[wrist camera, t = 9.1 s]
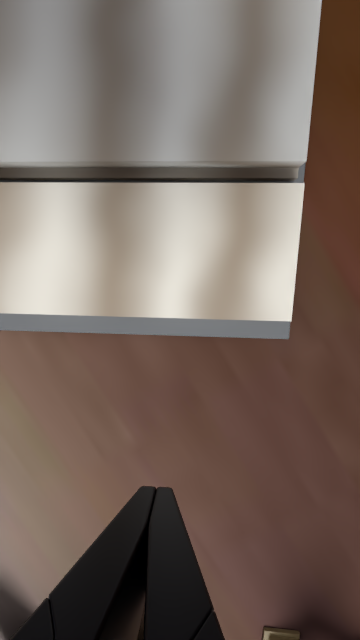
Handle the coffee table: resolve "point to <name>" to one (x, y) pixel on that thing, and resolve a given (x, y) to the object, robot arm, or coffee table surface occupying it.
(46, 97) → the plank
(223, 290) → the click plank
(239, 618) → the coffee table surface
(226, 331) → the underlay mat
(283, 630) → the eiffel tower
